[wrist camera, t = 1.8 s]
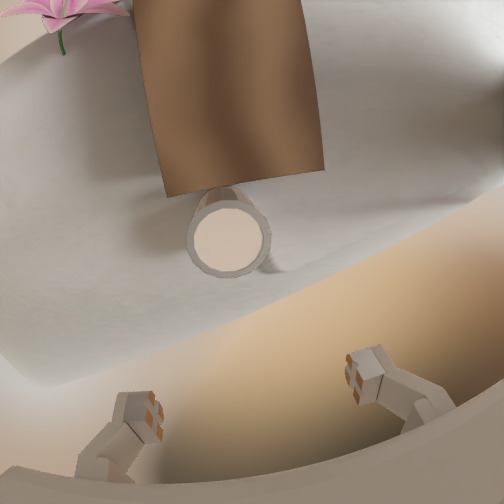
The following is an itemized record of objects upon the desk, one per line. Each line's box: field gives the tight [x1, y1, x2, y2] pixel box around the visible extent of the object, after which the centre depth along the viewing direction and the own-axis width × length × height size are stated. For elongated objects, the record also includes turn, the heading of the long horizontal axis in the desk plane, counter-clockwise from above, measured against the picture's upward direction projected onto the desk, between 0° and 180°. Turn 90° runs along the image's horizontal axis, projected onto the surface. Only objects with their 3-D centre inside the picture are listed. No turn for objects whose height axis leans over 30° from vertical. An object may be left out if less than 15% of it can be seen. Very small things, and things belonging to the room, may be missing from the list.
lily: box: [0, 0, 130, 55], centre depth 16 cm, size 12×12×10 cm
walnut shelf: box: [133, 0, 325, 198], centre depth 20 cm, size 11×18×9 cm, turn 8°
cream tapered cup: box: [186, 187, 271, 278], centre depth 27 cm, size 7×7×7 cm
